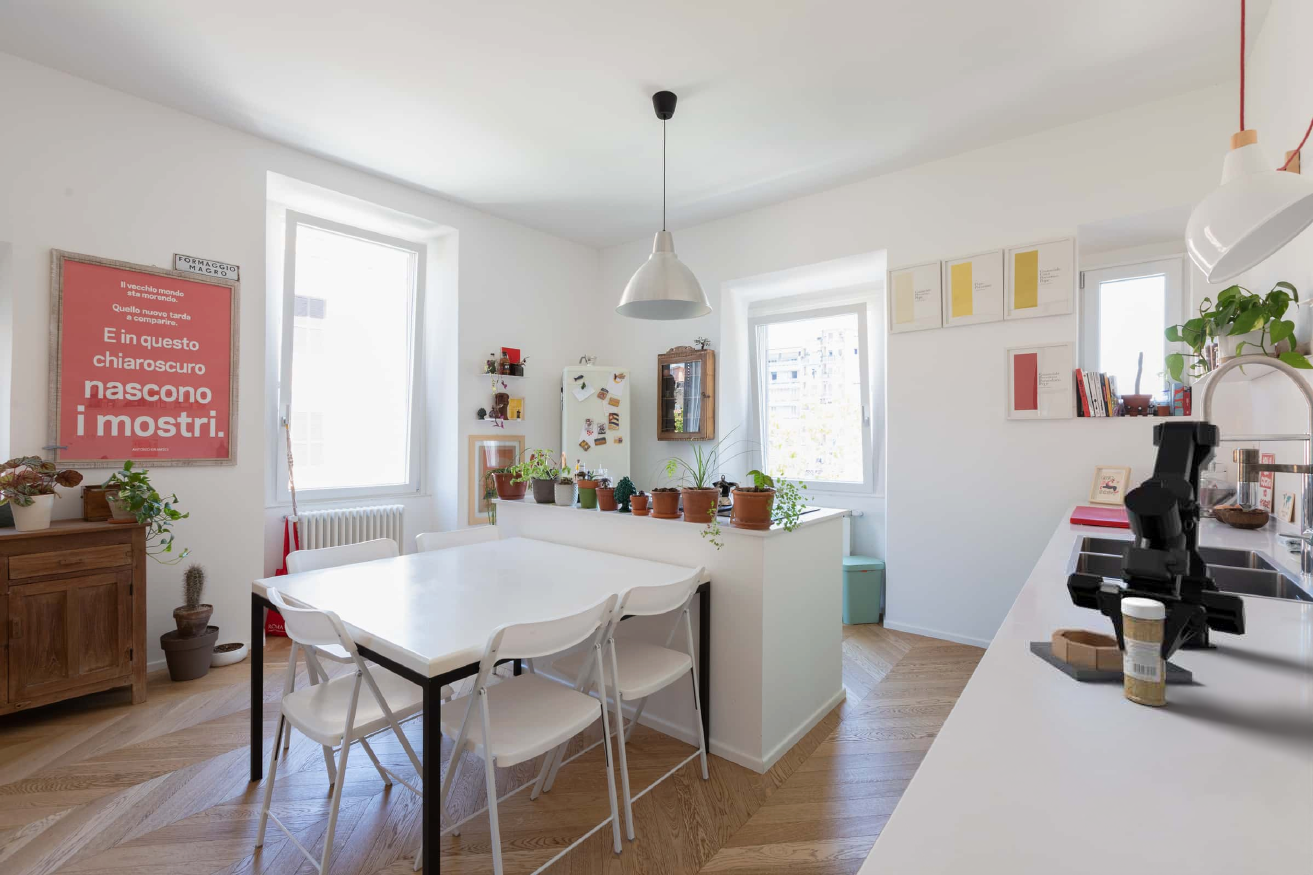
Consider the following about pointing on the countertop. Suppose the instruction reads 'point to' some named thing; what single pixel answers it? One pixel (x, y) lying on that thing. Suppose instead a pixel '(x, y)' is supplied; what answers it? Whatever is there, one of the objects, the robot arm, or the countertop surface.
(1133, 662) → the sprinkles bottle
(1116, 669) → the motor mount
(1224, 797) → the countertop surface
